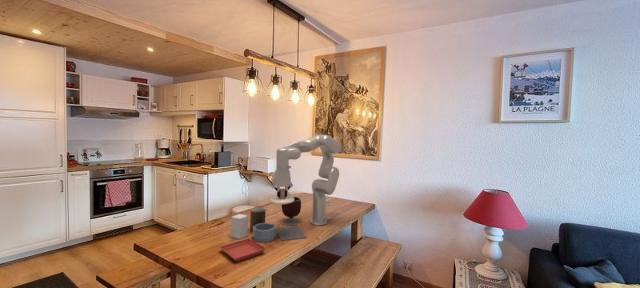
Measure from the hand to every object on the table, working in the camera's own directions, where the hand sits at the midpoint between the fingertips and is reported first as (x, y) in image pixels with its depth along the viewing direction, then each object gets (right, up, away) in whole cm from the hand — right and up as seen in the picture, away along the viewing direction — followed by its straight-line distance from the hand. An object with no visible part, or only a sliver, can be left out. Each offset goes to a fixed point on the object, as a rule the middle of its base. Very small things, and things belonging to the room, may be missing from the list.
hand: (282, 196), depth 167 cm
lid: (0, -3, 0) cm, 3 cm away
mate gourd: (+2, -23, +27) cm, 36 cm away
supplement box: (-26, -24, -2) cm, 35 cm away
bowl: (-11, -24, -4) cm, 27 cm away
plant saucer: (-18, -26, -24) cm, 39 cm away
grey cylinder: (-17, -24, +8) cm, 31 cm away
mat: (+4, -24, +5) cm, 25 cm away
